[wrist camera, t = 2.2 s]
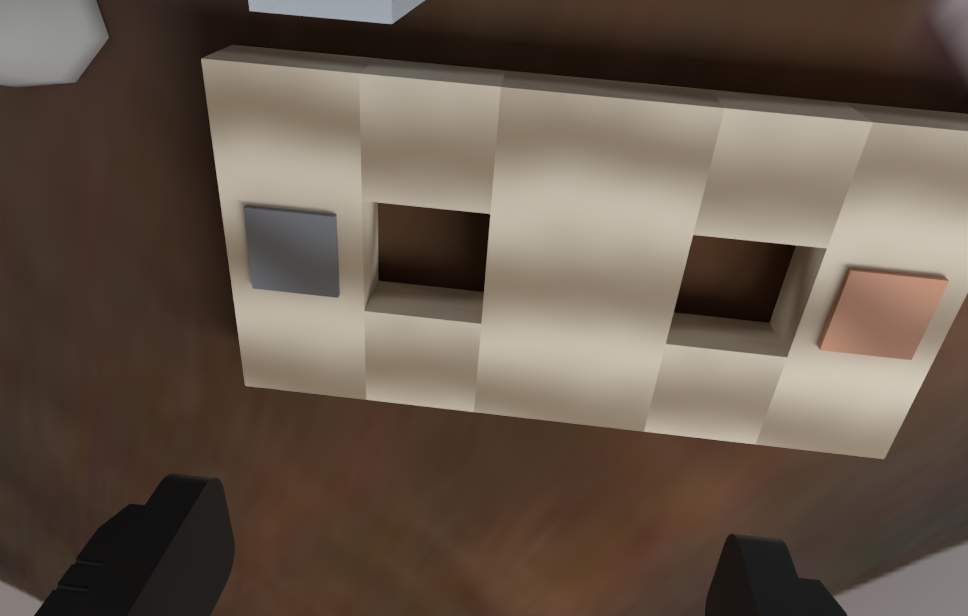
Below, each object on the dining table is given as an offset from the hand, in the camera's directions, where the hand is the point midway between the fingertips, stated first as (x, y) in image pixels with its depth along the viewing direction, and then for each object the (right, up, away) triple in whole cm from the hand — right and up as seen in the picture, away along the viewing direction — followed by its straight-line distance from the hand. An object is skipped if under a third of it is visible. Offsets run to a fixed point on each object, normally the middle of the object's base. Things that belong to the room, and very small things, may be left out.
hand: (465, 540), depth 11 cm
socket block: (+5, +6, +22) cm, 23 cm away
